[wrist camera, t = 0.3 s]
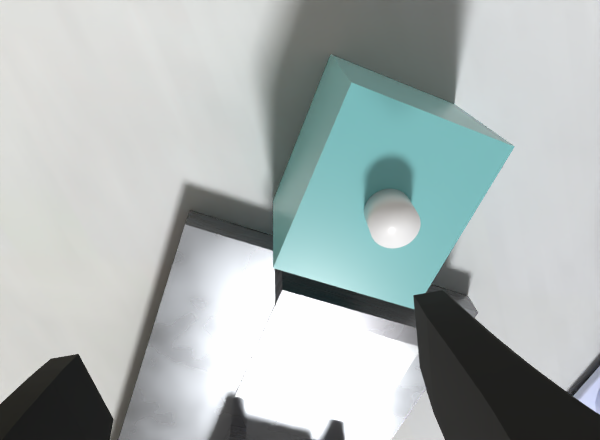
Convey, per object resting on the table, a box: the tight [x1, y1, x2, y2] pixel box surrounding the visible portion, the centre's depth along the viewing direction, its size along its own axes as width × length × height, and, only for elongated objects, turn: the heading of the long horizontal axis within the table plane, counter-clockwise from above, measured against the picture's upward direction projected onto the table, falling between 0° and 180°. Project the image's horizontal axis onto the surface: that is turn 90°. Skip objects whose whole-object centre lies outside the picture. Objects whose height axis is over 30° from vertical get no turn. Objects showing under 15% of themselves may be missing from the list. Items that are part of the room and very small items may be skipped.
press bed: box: [118, 211, 478, 440], centre depth 22 cm, size 13×17×4 cm
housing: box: [273, 55, 514, 309], centre depth 16 cm, size 5×6×6 cm
